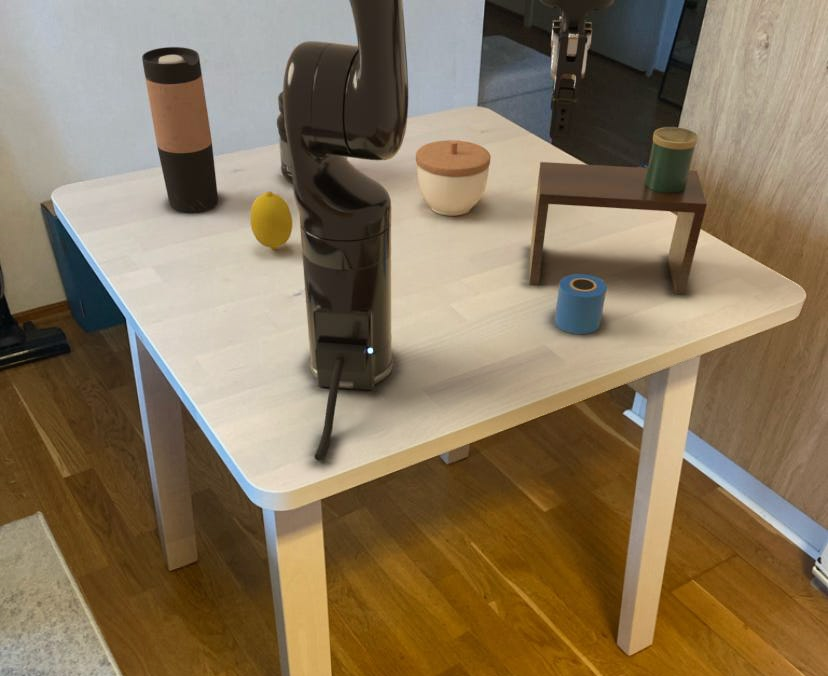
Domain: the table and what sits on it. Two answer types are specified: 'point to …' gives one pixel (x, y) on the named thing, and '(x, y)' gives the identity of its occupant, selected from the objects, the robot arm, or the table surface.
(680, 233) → the shelf
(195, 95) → the travel mug
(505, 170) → the table surface
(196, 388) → the table surface
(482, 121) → the table surface
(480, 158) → the trinket box
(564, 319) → the tape roll
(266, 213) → the lemon
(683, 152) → the tea tin
